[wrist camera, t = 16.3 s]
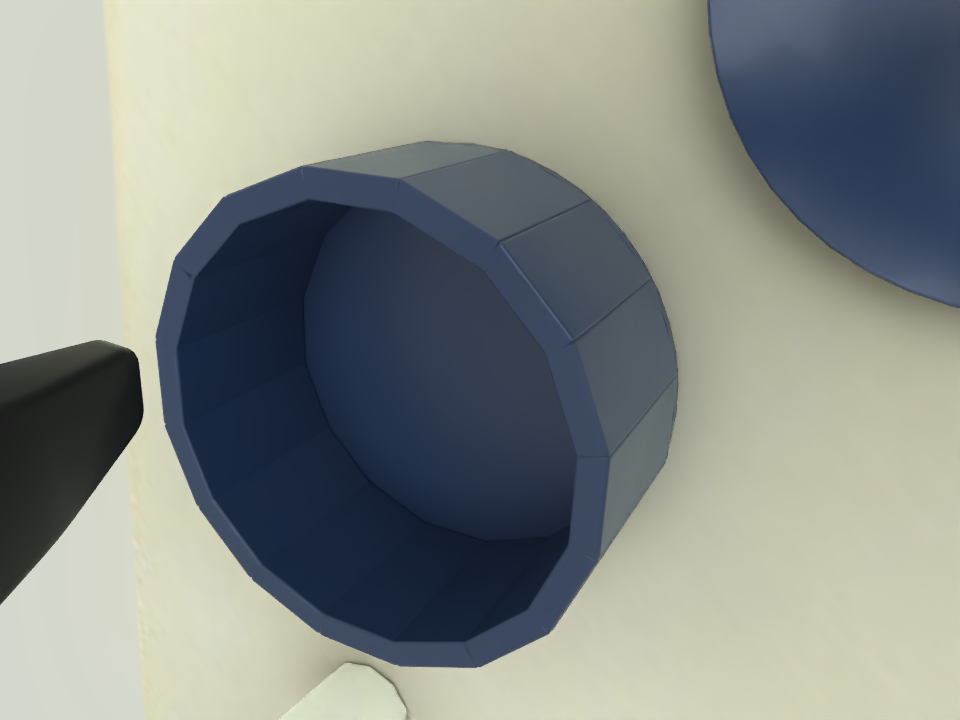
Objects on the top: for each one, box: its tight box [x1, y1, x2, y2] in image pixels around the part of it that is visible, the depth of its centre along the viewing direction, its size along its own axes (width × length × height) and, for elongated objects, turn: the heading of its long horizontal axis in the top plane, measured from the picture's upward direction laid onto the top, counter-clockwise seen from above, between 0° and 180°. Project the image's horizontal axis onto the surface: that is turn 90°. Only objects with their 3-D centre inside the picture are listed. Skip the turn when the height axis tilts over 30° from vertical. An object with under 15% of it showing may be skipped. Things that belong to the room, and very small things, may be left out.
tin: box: [156, 141, 678, 668], centre depth 22 cm, size 12×12×5 cm
